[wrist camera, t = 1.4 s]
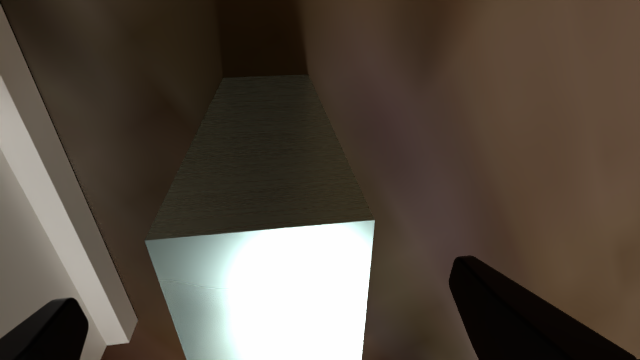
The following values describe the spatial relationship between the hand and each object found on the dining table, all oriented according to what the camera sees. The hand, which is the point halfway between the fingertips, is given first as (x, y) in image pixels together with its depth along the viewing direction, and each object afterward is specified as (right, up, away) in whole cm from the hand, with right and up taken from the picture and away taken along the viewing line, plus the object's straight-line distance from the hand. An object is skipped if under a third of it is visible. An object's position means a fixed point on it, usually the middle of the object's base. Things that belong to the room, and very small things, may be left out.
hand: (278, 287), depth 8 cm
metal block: (-1, +2, +3) cm, 4 cm away
